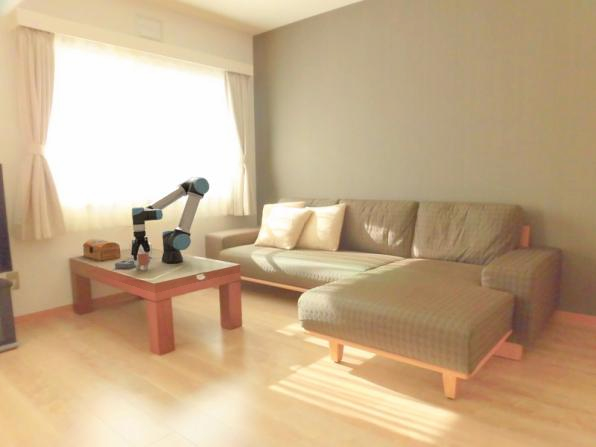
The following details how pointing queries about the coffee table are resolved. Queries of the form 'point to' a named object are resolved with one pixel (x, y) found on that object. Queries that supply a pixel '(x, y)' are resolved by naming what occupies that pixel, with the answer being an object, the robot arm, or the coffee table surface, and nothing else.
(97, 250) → the wooden box
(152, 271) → the coffee table surface
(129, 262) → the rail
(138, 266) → the clip
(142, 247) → the cable organizer
